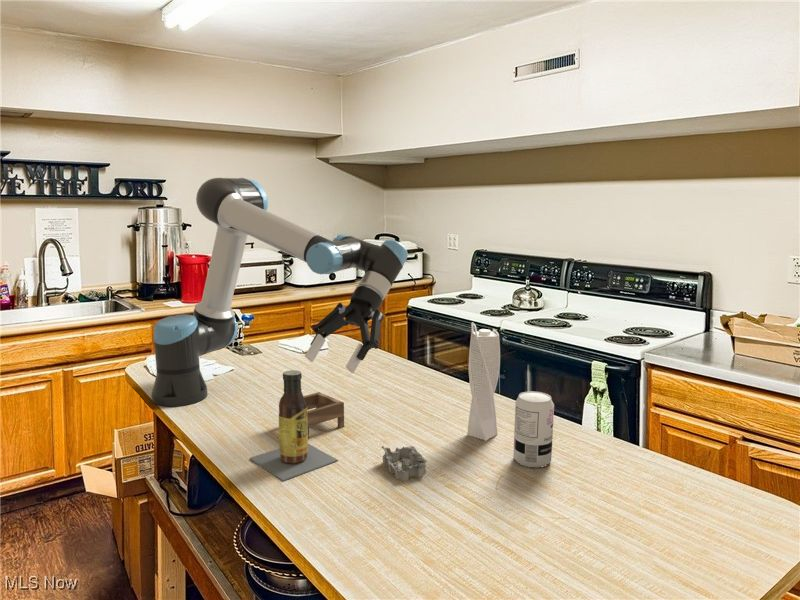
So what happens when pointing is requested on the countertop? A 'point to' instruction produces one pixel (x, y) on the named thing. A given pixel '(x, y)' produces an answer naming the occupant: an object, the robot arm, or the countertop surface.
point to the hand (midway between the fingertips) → (328, 364)
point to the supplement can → (533, 429)
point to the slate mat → (287, 470)
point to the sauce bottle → (293, 420)
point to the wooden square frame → (323, 409)
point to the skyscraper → (483, 382)
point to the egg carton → (405, 462)
